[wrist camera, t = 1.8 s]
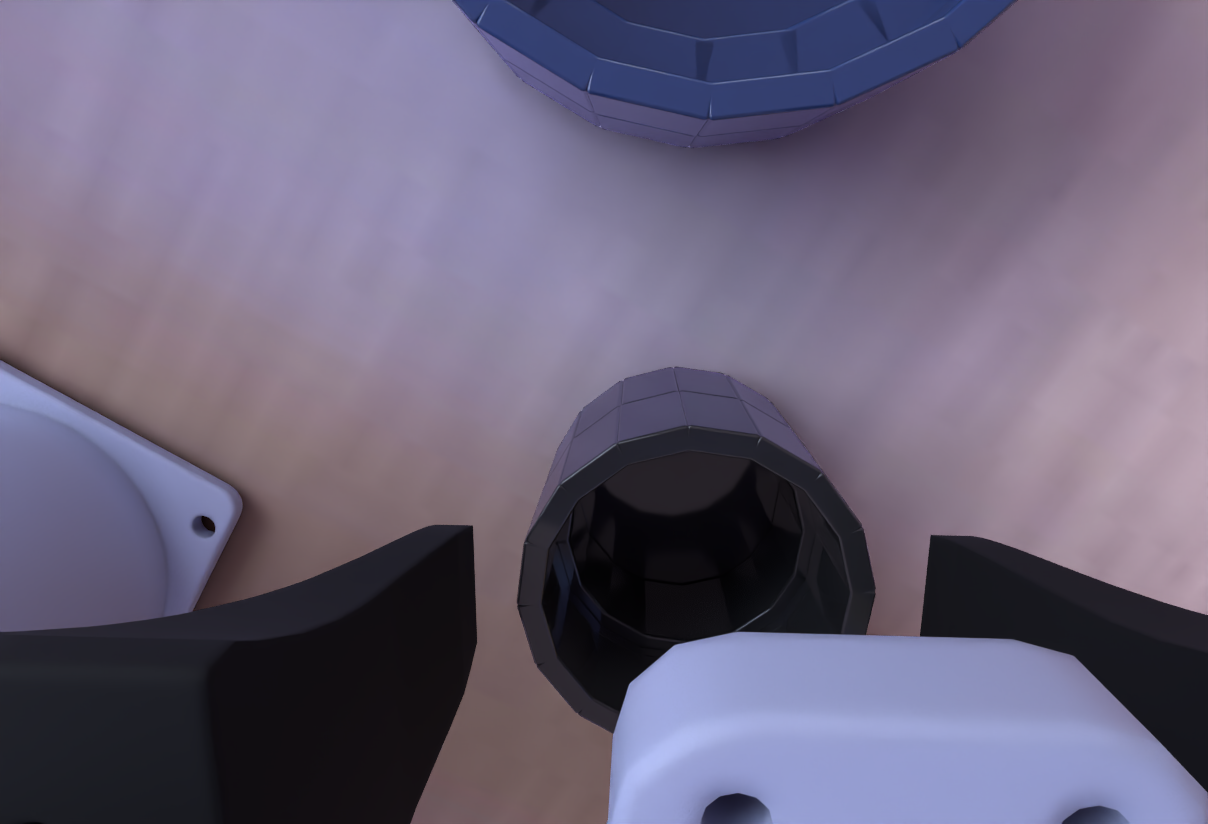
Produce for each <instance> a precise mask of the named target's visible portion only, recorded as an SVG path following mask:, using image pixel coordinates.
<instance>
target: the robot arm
mask: <svg viewBox="0 0 1208 824" xmlns="http://www.w3.org/2000/svg"><path fill="white" fill-rule="evenodd" d="M242 508H243V504H242V498H241V496H240V495H239V493H238V492H237V490H236V489H234V488H233V487H232V486H231V485H229V484H227V483H225V482H224V481H222V480H220V479H218V478H216V477H214V476H213V475H211V474H209V473H207V472H205V471H203V470H202V469H200V468H198V467H196V466H194V465H192V464H191V463H189V462H187V461H185V460H183V459H181V458H180V457H178V456H176V455H174V454H172V453H170V452H169V451H167V450H165V449H163V448H161V447H159V446H157V445H156V444H154V443H152V442H150V441H148V440H146V439H145V438H143V437H141V436H139V435H137V434H135V433H134V432H132V431H130V430H128V429H126V428H124V427H123V426H121V425H119V424H117V423H115V422H113V421H112V420H110V419H108V418H106V417H104V416H102V415H100V414H99V413H97V412H95V411H93V410H91V409H89V408H88V407H86V406H84V405H82V404H80V403H78V402H77V401H75V400H73V399H71V398H69V397H67V396H66V395H64V394H62V393H60V392H58V391H56V390H55V389H53V388H51V387H49V386H47V385H45V384H44V383H42V382H40V381H38V380H36V379H34V378H32V377H31V376H29V375H27V374H25V373H23V372H21V371H20V370H18V369H16V368H14V367H12V366H10V365H9V364H7V363H5V362H3V361H1V360H0V824H410V823H411V820H412V818H413V815H414V812H415V809H416V807H417V804H418V802H419V800H420V797H421V795H422V793H423V790H424V788H425V786H426V783H427V781H428V778H429V776H430V774H431V771H432V769H433V767H434V764H435V762H436V760H437V757H438V755H439V753H440V750H441V748H442V746H443V743H444V741H445V738H446V736H447V734H448V731H449V729H450V727H451V724H452V722H453V719H454V717H455V715H456V712H457V710H458V707H459V705H460V702H461V700H462V697H463V695H464V692H465V688H466V685H467V681H468V677H469V673H470V670H471V665H472V661H473V657H474V653H475V649H476V645H477V626H476V598H475V571H474V543H473V526H468V525H432V526H428V527H425V528H422V529H420V530H417V531H415V532H412V533H410V534H408V535H406V536H404V537H402V538H400V539H397V540H395V541H393V542H391V543H389V544H387V545H385V546H383V547H381V548H379V549H376V550H374V551H372V552H370V553H368V554H366V555H364V556H362V557H360V558H357V559H355V560H353V561H350V562H348V563H346V564H343V565H341V566H339V567H336V568H334V569H332V570H329V571H327V572H325V573H322V574H320V575H318V576H315V577H313V578H310V579H307V580H305V581H302V582H299V583H296V584H294V585H291V586H288V587H285V588H282V589H279V590H275V591H272V592H269V593H266V594H263V595H259V596H256V597H252V598H249V599H245V600H241V601H237V602H232V603H228V604H224V605H219V606H215V607H210V608H206V609H202V610H197V611H193V609H194V607H195V605H196V603H197V601H198V599H199V597H200V595H201V593H202V591H203V589H204V587H205V585H206V583H207V581H208V579H209V577H210V575H211V573H212V571H213V569H214V567H215V565H216V563H217V561H218V559H219V557H220V555H221V553H222V551H223V549H224V547H225V545H226V543H227V541H228V539H229V537H230V535H231V533H232V531H233V529H234V527H235V525H236V523H237V521H238V519H239V517H240V515H241V512H242ZM202 516H206V517H209V518H210V519H211V520H212V521H213V522H214V525H215V527H216V528H215V532H213V531H210V530H208V529H206V528H205V527H204V526H203V524H202V521H201V518H202ZM192 611H193V612H192ZM606 824H1208V615H1205V614H1201V613H1198V612H1194V611H1190V610H1187V609H1183V608H1180V607H1177V606H1173V605H1170V604H1167V603H1164V602H1160V601H1157V600H1154V599H1151V598H1149V597H1146V596H1143V595H1140V594H1137V593H1134V592H1131V591H1128V590H1125V589H1122V588H1119V587H1116V586H1113V585H1111V584H1108V583H1105V582H1103V581H1100V580H1097V579H1094V578H1092V577H1089V576H1086V575H1084V574H1081V573H1078V572H1076V571H1073V570H1071V569H1068V568H1065V567H1063V566H1060V565H1058V564H1055V563H1052V562H1050V561H1047V560H1045V559H1042V558H1039V557H1037V556H1034V555H1032V554H1029V553H1026V552H1024V551H1021V550H1018V549H1016V548H1013V547H1010V546H1007V545H1004V544H1001V543H998V542H995V541H991V540H988V539H984V538H979V537H974V536H943V535H931V538H930V547H929V557H928V566H927V576H926V585H925V594H924V604H923V613H922V622H921V632H920V637H915V636H877V635H839V634H801V633H763V632H734V633H729V634H724V635H720V636H715V637H710V638H705V639H701V640H696V641H691V642H687V643H682V644H677V645H674V646H673V647H672V648H671V649H669V650H668V651H667V652H666V653H665V654H664V655H662V656H661V657H660V658H659V659H658V660H657V661H655V662H654V663H653V664H652V665H651V666H650V667H648V668H647V669H646V670H645V671H644V672H643V673H641V674H640V675H639V676H638V677H637V678H635V679H634V680H633V681H632V682H631V683H630V684H629V686H628V690H627V693H626V696H625V699H624V702H623V705H622V709H621V712H620V715H619V718H618V721H617V724H616V728H615V731H614V734H613V742H612V760H611V779H610V797H609V815H608V821H607V823H606Z"/></svg>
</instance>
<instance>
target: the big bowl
mask: <svg viewBox="0 0 1208 824" xmlns="http://www.w3.org/2000/svg"><path fill="white" fill-rule="evenodd" d="M452 1H453V2H454V3H455V5H456V6H457V7H458V8H459V9H460V11H461V12H462V13H463V14H464V15H465V16H466V18H467V19H468V20H469V21H470V22H471V23H472V25H473V26H474V27H475V28H476V29H477V30H478V32H479V33H480V34H481V35H482V36H483V37H484V39H485V40H486V41H487V42H488V43H489V44H490V45H491V47H492V48H493V49H494V50H495V51H496V52H497V54H498V55H499V56H500V57H501V58H502V59H503V61H504V62H505V63H506V64H507V65H508V66H509V68H510V69H511V70H512V71H513V72H514V73H515V75H516V76H517V77H519V78H521V79H522V81H523V82H525V83H526V84H528V85H530V86H531V87H533V88H534V89H536V90H538V91H539V92H541V93H543V94H544V95H546V96H548V97H549V98H551V99H552V100H554V101H556V102H557V103H559V104H561V105H562V106H564V107H566V108H567V109H569V110H570V111H572V112H574V113H575V114H577V115H579V116H580V117H582V118H584V119H585V120H587V121H588V122H590V123H592V124H593V125H595V126H598V127H599V126H601V128H603V129H605V130H609V131H613V132H618V133H622V134H627V135H631V136H636V137H640V138H645V139H649V140H653V141H658V142H662V143H667V144H671V145H676V146H680V147H685V148H686V147H689V146H690V148H699V147H708V146H717V145H727V144H736V143H745V142H754V141H764V140H773V139H779V138H781V137H782V136H788V135H790V134H793V133H795V132H797V131H799V130H801V129H804V128H806V127H808V126H810V125H812V124H815V123H817V122H819V121H821V120H823V119H826V118H828V117H830V116H832V115H835V114H837V113H839V112H841V111H843V110H846V109H848V108H850V107H852V106H854V105H857V104H859V103H861V102H863V101H865V100H867V99H869V98H871V97H873V96H875V95H877V94H879V93H881V92H882V91H884V90H886V89H888V88H890V87H892V86H894V85H896V84H898V83H899V82H901V81H903V80H905V79H907V78H909V77H911V76H913V75H915V74H917V73H919V72H920V71H922V70H924V69H926V68H928V67H930V66H932V65H934V64H936V63H938V62H939V61H941V60H943V59H945V58H947V57H949V56H951V55H953V54H955V53H956V52H957V51H958V50H960V49H962V48H964V47H965V46H966V45H967V44H969V43H970V42H971V41H972V40H973V39H974V38H975V37H977V36H978V35H979V34H980V33H981V32H982V31H983V30H985V29H986V28H987V27H988V26H989V25H990V24H991V23H993V22H994V21H995V20H996V19H997V18H998V17H999V16H1001V15H1002V14H1003V13H1004V12H1005V11H1006V10H1007V9H1009V8H1010V7H1011V6H1012V5H1013V4H1014V3H1015V2H1017V1H1018V0H452Z"/></svg>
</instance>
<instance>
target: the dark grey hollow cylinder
mask: <svg viewBox="0 0 1208 824" xmlns="http://www.w3.org/2000/svg"><path fill="white" fill-rule="evenodd" d="M875 589H876V587H875V582H874V577H873V572H872V567H871V562H870V557H869V552H868V547H867V542H866V537H865V533H864V529H863V528H862V524H861V523H860V521H859V520H858V518H857V517H856V516H855V514H854V513H853V512H852V510H851V509H850V508H849V506H848V505H847V503H846V502H845V501H844V499H843V498H842V497H841V495H840V494H839V492H838V491H837V490H836V488H835V487H834V486H833V484H832V483H831V481H830V480H829V479H828V477H827V476H826V475H825V473H824V472H823V471H822V469H821V468H820V466H819V465H818V464H817V462H816V461H815V460H814V458H813V457H812V456H811V454H810V453H809V452H808V450H807V449H806V448H805V446H804V445H803V444H802V442H801V441H800V439H799V438H798V437H797V435H796V434H795V433H794V431H793V430H792V429H791V427H790V426H789V425H788V423H787V422H786V421H785V419H784V418H783V417H782V415H781V414H780V413H779V411H778V410H777V409H776V407H775V406H774V404H773V403H772V402H770V401H769V400H768V399H767V398H766V397H764V396H763V395H761V394H759V393H758V392H756V391H754V390H753V389H751V388H749V387H747V386H746V385H744V384H742V383H741V382H739V381H737V380H736V379H734V378H732V377H730V376H729V375H725V374H723V373H718V372H711V371H704V370H697V369H690V368H683V367H674V368H672V367H668V368H664V369H660V370H656V371H652V372H648V373H644V374H640V375H636V376H632V377H628V378H625V379H624V381H619V382H618V383H616V384H615V385H613V386H612V387H611V388H609V389H608V390H607V391H605V392H604V393H603V394H601V395H600V396H599V397H597V398H596V399H594V400H593V401H592V402H590V403H589V404H588V405H586V406H585V407H584V408H583V410H582V411H581V412H579V413H578V415H577V417H576V419H575V420H574V422H573V424H572V425H571V427H570V429H569V430H568V432H567V434H566V435H565V437H564V439H563V440H562V442H561V444H560V445H559V447H558V449H557V451H556V454H555V457H554V460H553V463H552V466H551V468H550V471H549V474H548V477H547V480H546V483H545V486H544V488H543V490H542V493H541V496H540V499H539V502H538V504H537V507H536V510H535V513H534V516H533V519H532V521H531V524H530V527H529V530H528V533H527V536H526V538H525V541H524V546H523V554H522V562H521V570H520V579H519V587H518V595H517V604H518V606H517V608H518V611H519V614H520V617H521V621H522V624H523V627H524V630H525V633H526V637H527V640H528V643H529V646H530V649H531V653H532V656H533V659H534V662H535V664H537V667H538V669H539V670H540V671H541V672H542V673H543V675H544V676H545V677H546V678H547V679H548V681H549V682H550V683H551V684H552V685H553V686H554V688H555V689H556V690H557V691H558V692H559V693H560V695H561V696H562V697H563V698H564V699H565V701H566V702H567V703H568V704H569V705H570V706H571V708H572V709H573V710H574V711H575V712H576V713H578V714H579V715H580V716H581V717H583V718H585V719H587V720H589V721H591V722H592V723H594V724H596V725H598V726H600V727H602V728H604V729H605V730H607V731H609V732H611V733H613V734H614V731H615V728H616V724H617V721H618V718H619V715H620V712H621V709H622V705H623V702H624V699H625V696H626V693H627V690H628V686H629V684H630V683H631V682H632V681H633V680H634V679H635V678H637V677H638V676H639V675H640V674H641V673H643V672H644V671H645V670H646V669H647V668H648V667H650V666H651V665H652V664H653V663H654V662H655V661H657V660H658V659H659V658H660V657H661V656H662V655H664V654H665V653H666V652H667V651H668V650H669V649H671V648H672V647H673V646H674V645H677V644H682V643H687V642H691V641H696V640H701V639H705V638H710V637H715V636H720V635H724V634H729V633H734V632H763V633H801V634H839V635H866V632H867V628H868V624H869V620H870V616H871V611H872V607H873V603H874V599H875V594H876V593H875Z"/></svg>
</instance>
